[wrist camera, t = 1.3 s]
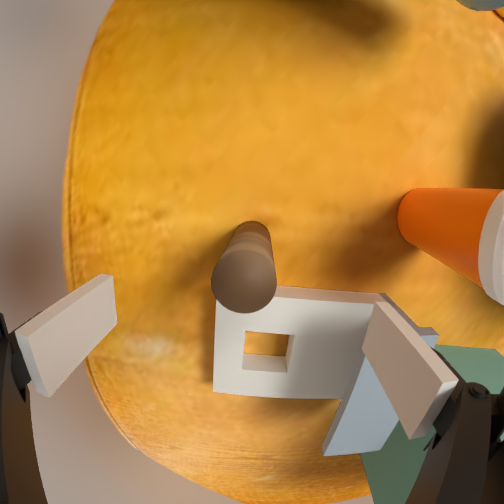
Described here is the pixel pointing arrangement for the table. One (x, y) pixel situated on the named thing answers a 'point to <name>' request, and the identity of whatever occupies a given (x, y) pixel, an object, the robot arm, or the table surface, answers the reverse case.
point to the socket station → (313, 360)
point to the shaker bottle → (459, 231)
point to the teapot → (500, 11)
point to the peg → (246, 270)
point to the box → (411, 451)
